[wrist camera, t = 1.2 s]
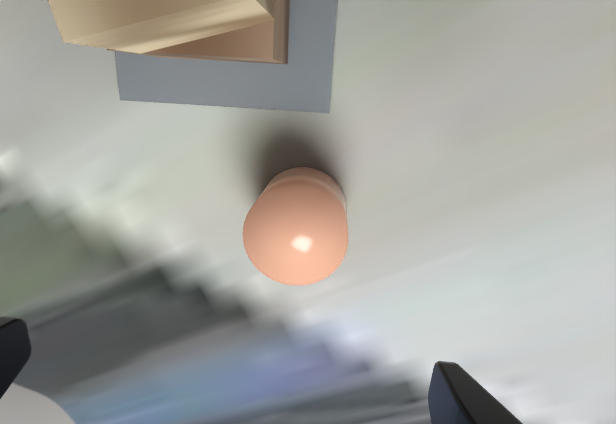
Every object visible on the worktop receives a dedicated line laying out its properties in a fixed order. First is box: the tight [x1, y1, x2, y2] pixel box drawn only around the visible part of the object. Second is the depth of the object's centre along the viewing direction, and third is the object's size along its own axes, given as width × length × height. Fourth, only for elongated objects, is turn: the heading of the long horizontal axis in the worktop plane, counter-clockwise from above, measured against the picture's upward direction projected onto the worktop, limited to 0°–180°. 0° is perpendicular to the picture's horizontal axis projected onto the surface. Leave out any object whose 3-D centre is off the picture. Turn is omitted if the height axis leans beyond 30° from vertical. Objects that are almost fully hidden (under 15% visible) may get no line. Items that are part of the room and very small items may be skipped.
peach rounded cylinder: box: [243, 167, 348, 285], centre depth 18 cm, size 4×4×4 cm
